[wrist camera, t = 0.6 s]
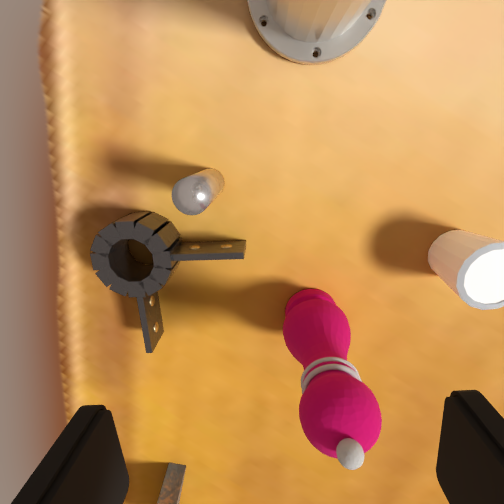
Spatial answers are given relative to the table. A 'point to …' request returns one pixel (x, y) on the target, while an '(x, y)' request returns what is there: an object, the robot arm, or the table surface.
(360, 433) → the pepper mill
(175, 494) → the rusty metal bracket
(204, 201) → the hinge pin
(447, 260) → the white cup
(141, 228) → the hinge
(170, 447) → the table surface
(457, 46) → the table surface
